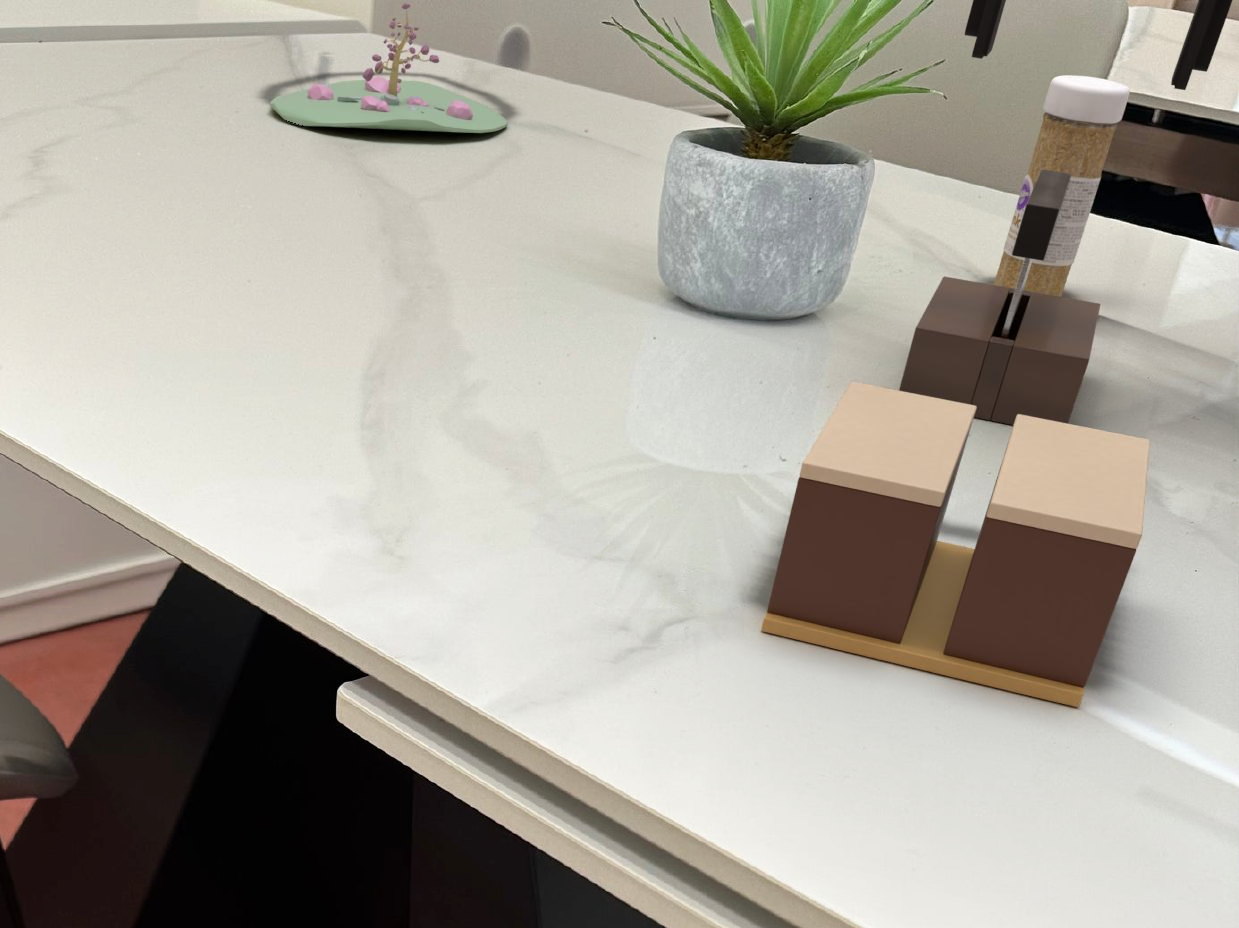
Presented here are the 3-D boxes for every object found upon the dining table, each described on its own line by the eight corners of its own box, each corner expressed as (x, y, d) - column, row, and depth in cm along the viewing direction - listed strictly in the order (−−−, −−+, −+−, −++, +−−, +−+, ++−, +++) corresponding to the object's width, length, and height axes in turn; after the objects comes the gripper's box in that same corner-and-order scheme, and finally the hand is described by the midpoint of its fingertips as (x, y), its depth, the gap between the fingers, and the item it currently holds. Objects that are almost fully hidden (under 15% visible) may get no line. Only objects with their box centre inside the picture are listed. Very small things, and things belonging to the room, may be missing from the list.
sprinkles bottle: (972, 300, 106) (1037, 72, 98) (1033, 300, 107) (1102, 74, 99) (1010, 322, 103) (1081, 87, 95) (1072, 322, 104) (1148, 89, 96)
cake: (815, 527, 73) (853, 377, 69) (1094, 588, 69) (1150, 435, 66) (760, 631, 64) (799, 466, 60) (1078, 708, 60) (1142, 539, 56)
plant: (270, 78, 152) (274, -33, 146) (489, 94, 153) (500, -15, 148) (269, 134, 132) (273, 8, 126) (521, 152, 133) (535, 28, 128)
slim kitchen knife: (984, 361, 95) (1041, 169, 89) (1012, 366, 95) (1071, 174, 89) (965, 410, 88) (1026, 204, 81) (995, 416, 87) (1059, 209, 81)
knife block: (924, 345, 97) (943, 276, 95) (1077, 374, 95) (1100, 303, 92) (895, 402, 88) (915, 327, 86) (1064, 435, 86) (1089, 359, 83)
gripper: (1416, -336, 72) (1258, 88, 82) (1019, -370, 77) (915, 35, 87) (1435, -347, 67) (1262, 110, 77) (1004, -383, 71) (895, 52, 81)
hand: (1078, 70), depth 82 cm, fingers open, 9 cm apart
